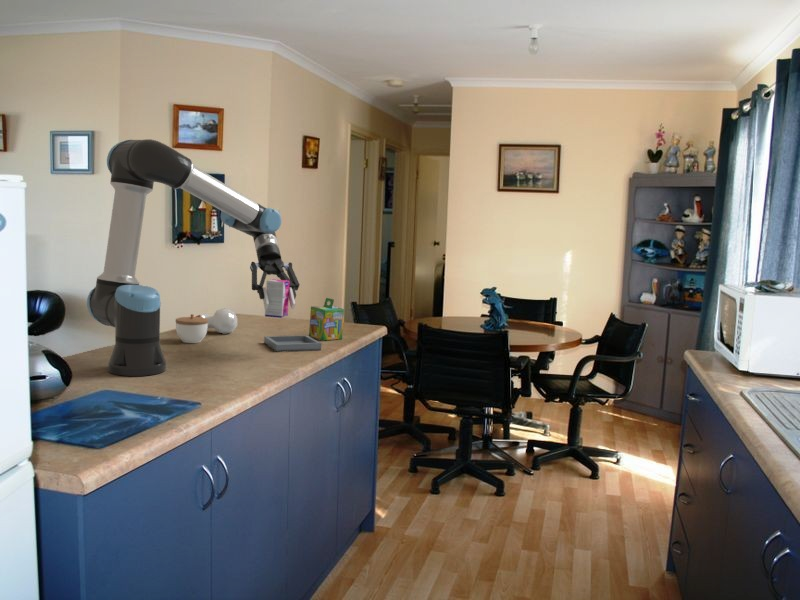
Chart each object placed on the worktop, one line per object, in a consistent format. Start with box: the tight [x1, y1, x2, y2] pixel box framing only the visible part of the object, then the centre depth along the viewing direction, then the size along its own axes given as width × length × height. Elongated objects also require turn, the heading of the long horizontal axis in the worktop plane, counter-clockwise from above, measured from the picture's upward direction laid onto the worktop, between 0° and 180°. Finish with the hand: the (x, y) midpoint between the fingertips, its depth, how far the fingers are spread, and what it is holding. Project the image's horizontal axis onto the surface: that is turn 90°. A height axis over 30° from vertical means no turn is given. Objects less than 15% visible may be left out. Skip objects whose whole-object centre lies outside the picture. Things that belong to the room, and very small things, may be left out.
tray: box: [263, 334, 322, 353], centre depth 250 cm, size 15×15×2 cm
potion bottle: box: [195, 307, 238, 335], centre depth 268 cm, size 9×10×15 cm
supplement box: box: [264, 278, 290, 319], centre depth 231 cm, size 6×6×12 cm
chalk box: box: [308, 297, 345, 342], centre depth 268 cm, size 9×9×15 cm
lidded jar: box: [175, 313, 209, 344], centre depth 249 cm, size 11×11×9 cm
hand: (280, 306), depth 229 cm, fingers closed on supplement box, 8 cm apart
